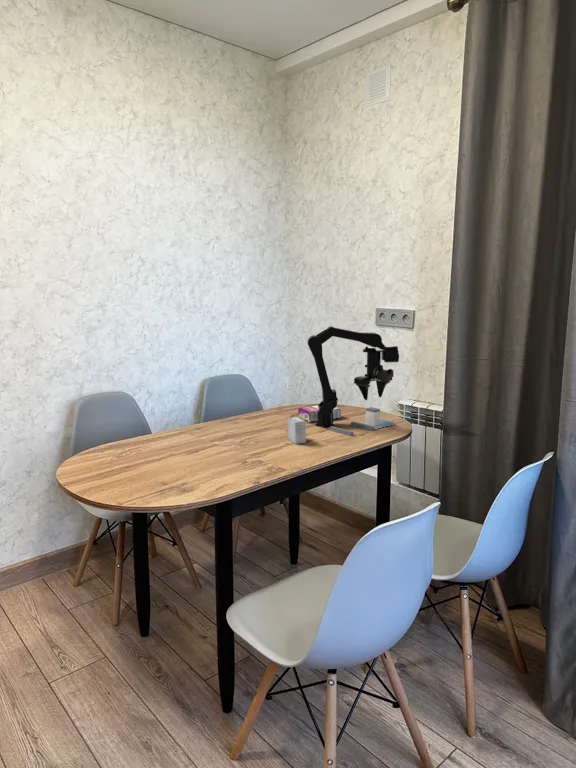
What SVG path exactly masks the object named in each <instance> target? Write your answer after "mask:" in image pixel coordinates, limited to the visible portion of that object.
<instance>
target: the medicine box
mask: <svg viewBox="0 0 576 768" xmlns="http://www.w3.org/2000/svg"><path fill="white" fill-rule="evenodd" d="M306 431H307V430H306V420H303V419H301V418H299V417H298V416H296V417H289V418H287V439H288V440H289V441H290V442H292V443H293V444H295V445H298V444H299V445H300V443H301V444H306V443H307V441H306V440H307V437H306V435H307V434H306V433H307V432H306Z"/></svg>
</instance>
